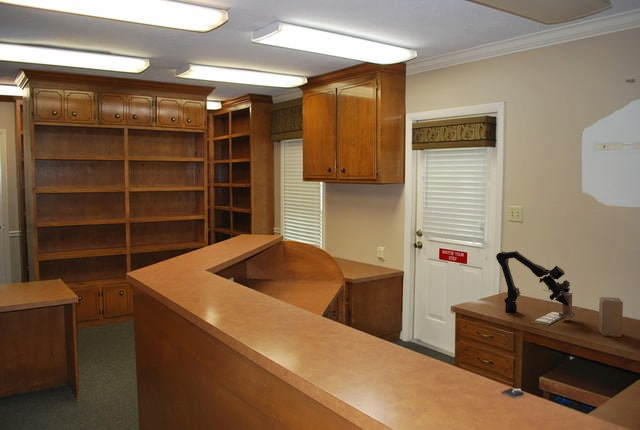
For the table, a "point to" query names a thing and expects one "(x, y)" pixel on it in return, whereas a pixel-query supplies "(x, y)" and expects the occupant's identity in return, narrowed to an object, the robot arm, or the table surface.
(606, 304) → the wooden block
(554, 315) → the ash board
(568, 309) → the square column stand
